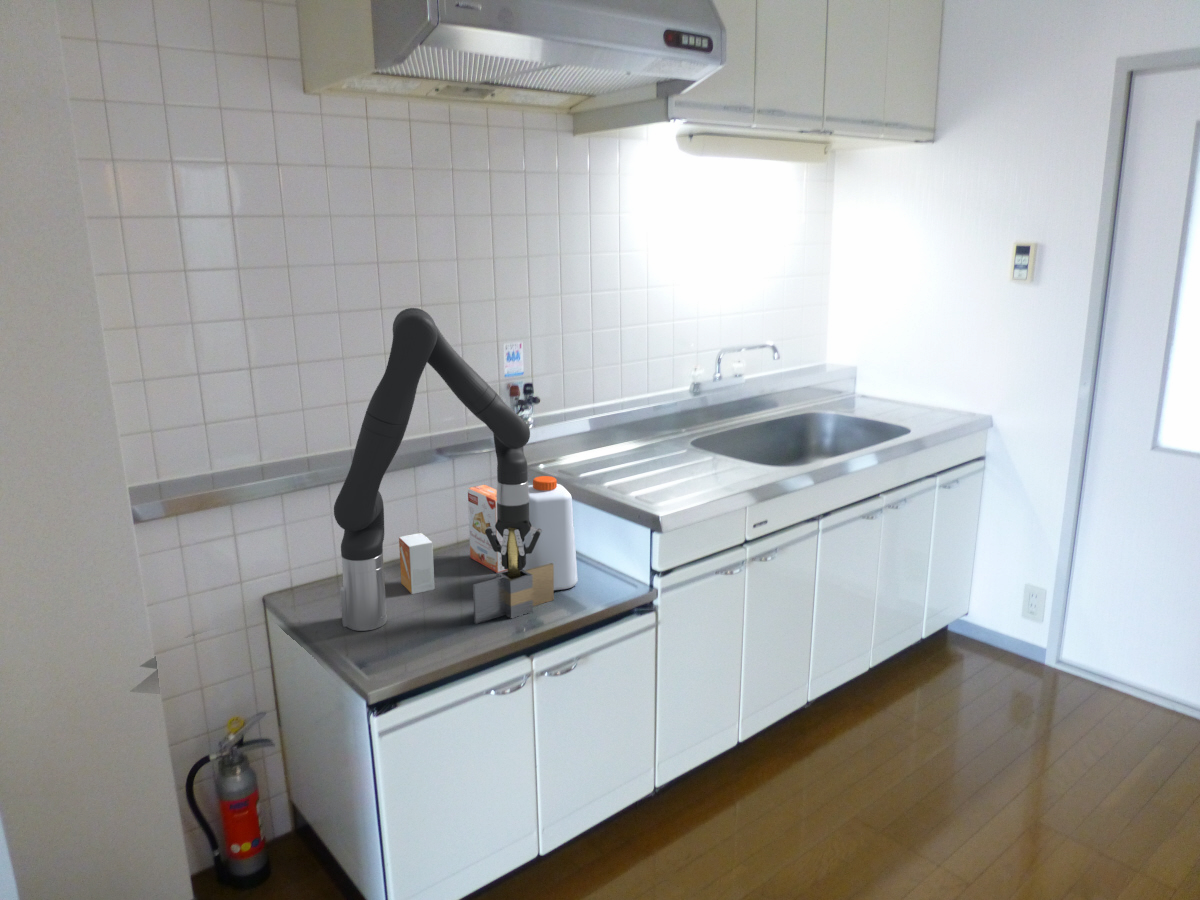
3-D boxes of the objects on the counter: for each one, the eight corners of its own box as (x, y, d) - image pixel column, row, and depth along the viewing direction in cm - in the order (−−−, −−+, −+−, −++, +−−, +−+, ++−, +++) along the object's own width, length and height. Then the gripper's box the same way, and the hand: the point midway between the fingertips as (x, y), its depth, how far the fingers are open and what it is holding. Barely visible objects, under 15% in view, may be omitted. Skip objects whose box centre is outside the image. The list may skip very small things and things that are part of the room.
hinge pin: (506, 583, 207) (505, 528, 203) (509, 579, 210) (508, 524, 206) (519, 584, 207) (518, 528, 203) (521, 579, 209) (520, 524, 206)
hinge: (481, 627, 201) (480, 589, 199) (468, 618, 206) (467, 580, 203) (560, 603, 214) (559, 567, 212) (545, 595, 219) (545, 559, 217)
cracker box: (468, 559, 243) (466, 487, 238) (487, 554, 247) (485, 483, 241) (496, 574, 232) (494, 499, 227) (514, 568, 236) (513, 495, 231)
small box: (400, 583, 226) (398, 536, 222) (424, 579, 229) (421, 532, 226) (411, 594, 219) (408, 546, 216) (435, 589, 222) (433, 541, 219)
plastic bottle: (581, 589, 223) (581, 484, 216) (524, 596, 219) (522, 489, 212) (565, 567, 237) (565, 468, 230) (511, 573, 233) (509, 473, 226)
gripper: (479, 502, 200) (481, 572, 205) (539, 505, 199) (540, 576, 203) (487, 493, 208) (489, 561, 212) (545, 496, 206) (545, 564, 210)
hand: (514, 568), depth 207 cm, fingers closed on hinge pin, 3 cm apart
